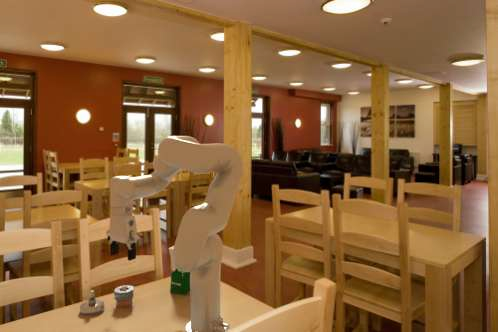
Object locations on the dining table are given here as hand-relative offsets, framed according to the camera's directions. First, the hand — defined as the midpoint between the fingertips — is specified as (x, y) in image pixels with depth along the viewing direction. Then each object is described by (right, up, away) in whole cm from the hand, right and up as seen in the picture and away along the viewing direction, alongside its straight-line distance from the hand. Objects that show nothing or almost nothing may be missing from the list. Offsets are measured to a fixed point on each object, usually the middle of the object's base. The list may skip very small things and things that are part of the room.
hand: (122, 256), depth 135 cm
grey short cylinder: (0, -15, +1) cm, 15 cm away
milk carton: (+19, -17, +14) cm, 29 cm away
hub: (-10, -18, -3) cm, 21 cm away
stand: (0, -18, +1) cm, 18 cm away
